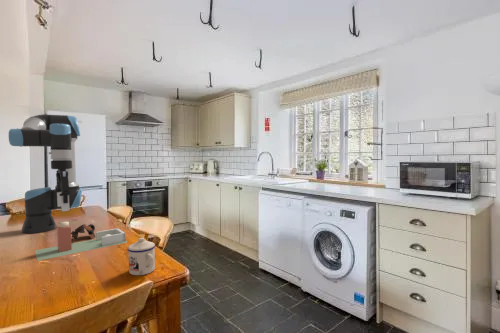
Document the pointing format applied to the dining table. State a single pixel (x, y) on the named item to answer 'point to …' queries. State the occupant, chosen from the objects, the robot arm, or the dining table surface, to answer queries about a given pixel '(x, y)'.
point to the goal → (111, 236)
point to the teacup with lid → (141, 257)
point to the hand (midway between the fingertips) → (63, 208)
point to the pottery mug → (80, 229)
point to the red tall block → (64, 237)
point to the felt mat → (76, 248)
